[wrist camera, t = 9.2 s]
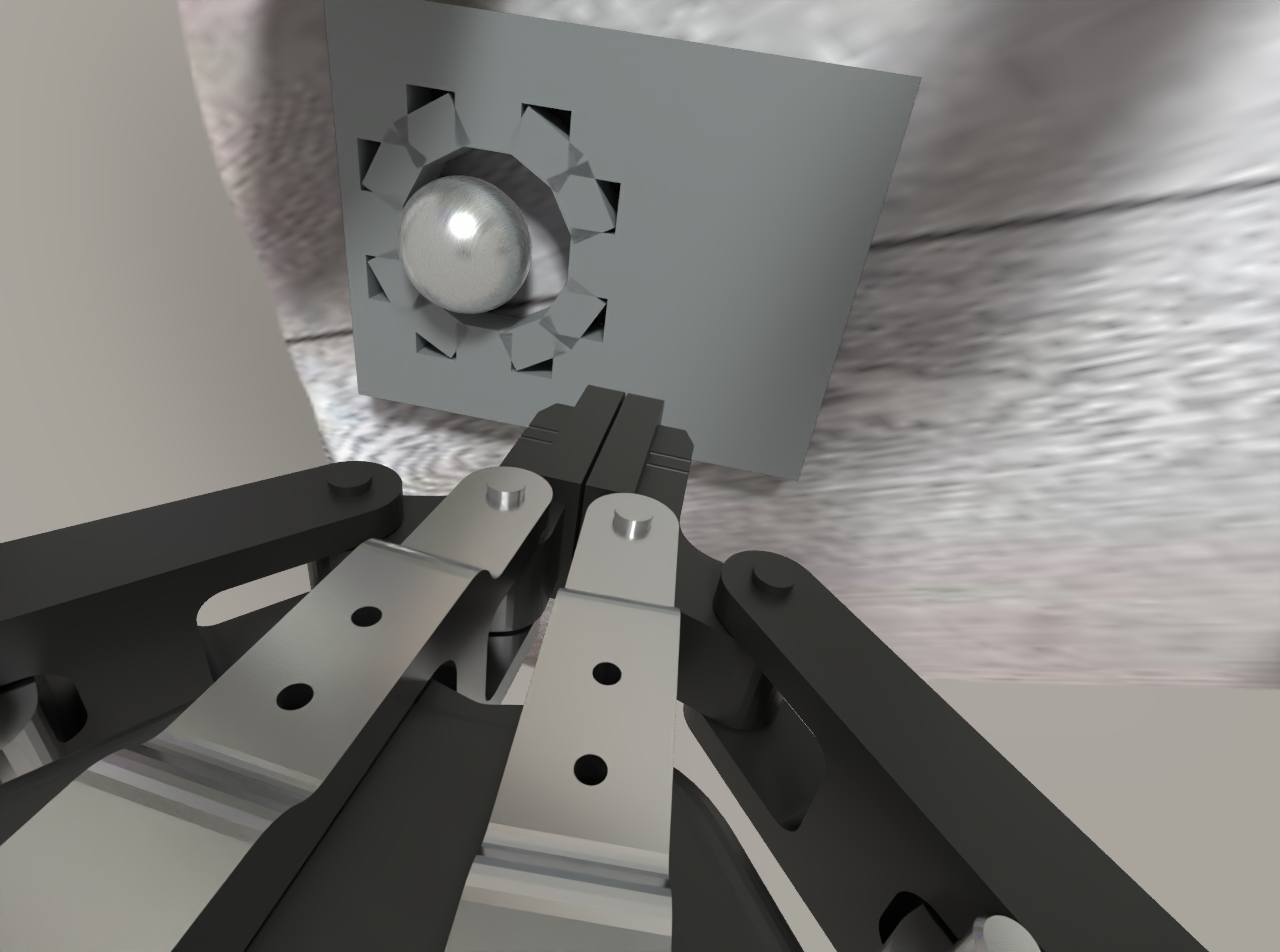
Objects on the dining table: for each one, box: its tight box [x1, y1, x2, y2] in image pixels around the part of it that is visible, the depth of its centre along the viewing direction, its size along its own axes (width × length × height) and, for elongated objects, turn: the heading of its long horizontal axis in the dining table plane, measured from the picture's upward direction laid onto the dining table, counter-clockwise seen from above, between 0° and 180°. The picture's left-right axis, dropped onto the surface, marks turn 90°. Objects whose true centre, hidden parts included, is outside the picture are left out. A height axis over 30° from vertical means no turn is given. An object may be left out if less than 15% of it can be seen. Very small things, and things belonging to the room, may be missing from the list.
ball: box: [397, 175, 532, 314], centre depth 30 cm, size 6×6×6 cm
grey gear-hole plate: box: [324, 0, 921, 481], centre depth 31 cm, size 18×24×2 cm
